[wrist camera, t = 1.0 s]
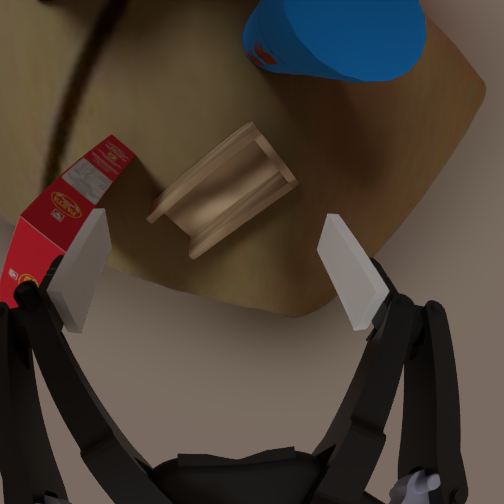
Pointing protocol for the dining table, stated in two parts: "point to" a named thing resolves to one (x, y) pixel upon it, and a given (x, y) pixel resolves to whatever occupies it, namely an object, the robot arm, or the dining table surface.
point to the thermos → (336, 38)
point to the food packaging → (60, 215)
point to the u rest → (225, 189)
